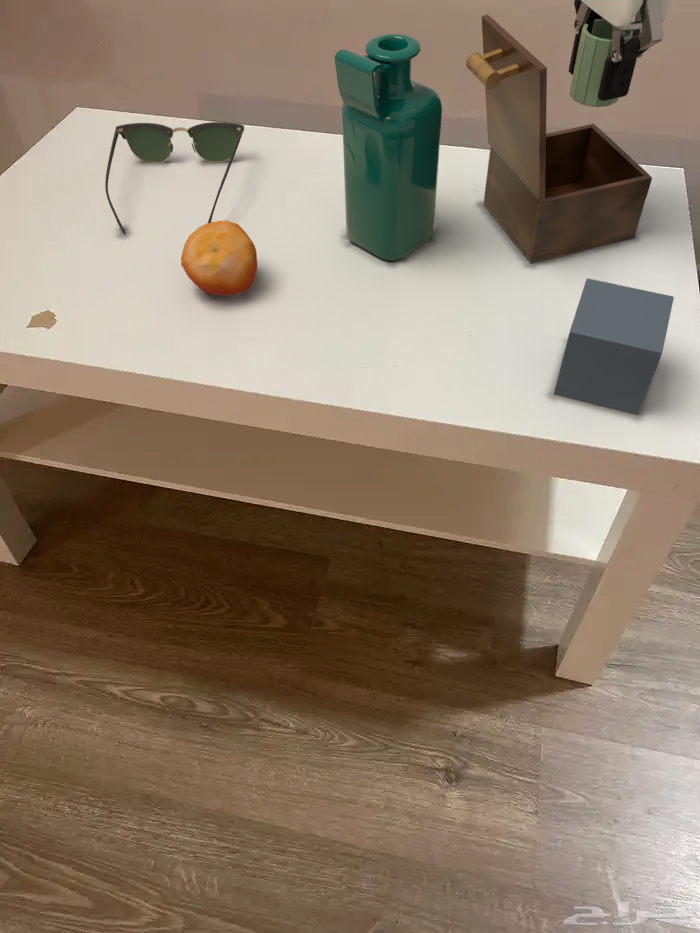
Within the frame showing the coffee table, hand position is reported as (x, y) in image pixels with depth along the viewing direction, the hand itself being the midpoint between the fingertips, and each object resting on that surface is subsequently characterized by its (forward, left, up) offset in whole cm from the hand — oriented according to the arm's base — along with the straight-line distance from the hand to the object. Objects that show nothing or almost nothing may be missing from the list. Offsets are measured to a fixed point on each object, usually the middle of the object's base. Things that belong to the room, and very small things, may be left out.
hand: (597, 82), depth 81 cm
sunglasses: (+47, +11, -16) cm, 51 cm away
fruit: (+33, +25, -16) cm, 45 cm away
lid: (+7, +6, -1) cm, 9 cm away
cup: (0, 0, -1) cm, 1 cm away
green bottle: (+19, +11, -16) cm, 27 cm away
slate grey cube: (-9, +25, -16) cm, 31 cm away
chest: (+1, +1, -16) cm, 16 cm away
